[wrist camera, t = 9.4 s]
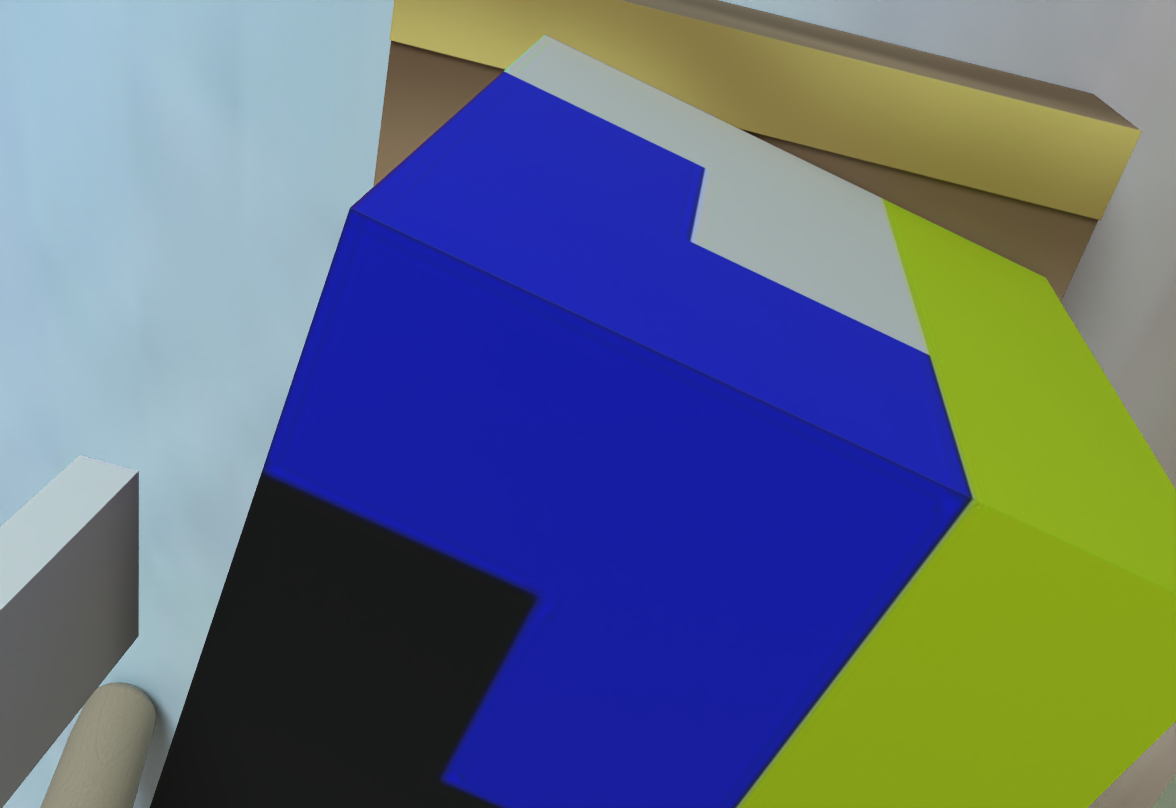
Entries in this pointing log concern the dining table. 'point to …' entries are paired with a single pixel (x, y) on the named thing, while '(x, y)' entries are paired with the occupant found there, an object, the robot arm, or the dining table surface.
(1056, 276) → the dock
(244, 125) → the dining table surface
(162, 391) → the dining table surface
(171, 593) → the dining table surface
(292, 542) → the puzzle toy
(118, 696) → the planter
